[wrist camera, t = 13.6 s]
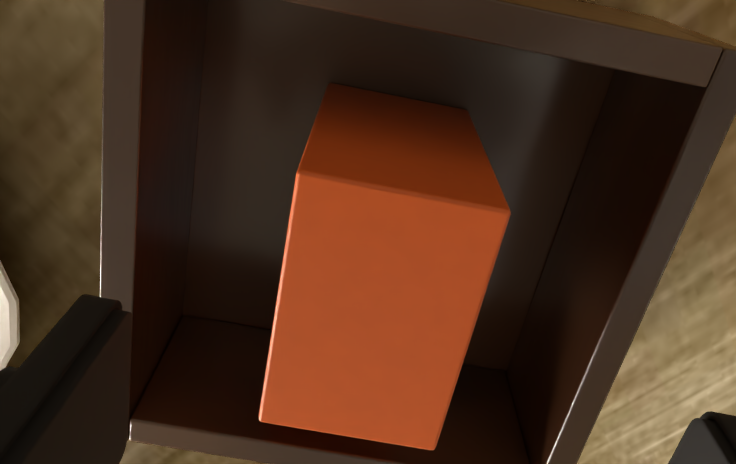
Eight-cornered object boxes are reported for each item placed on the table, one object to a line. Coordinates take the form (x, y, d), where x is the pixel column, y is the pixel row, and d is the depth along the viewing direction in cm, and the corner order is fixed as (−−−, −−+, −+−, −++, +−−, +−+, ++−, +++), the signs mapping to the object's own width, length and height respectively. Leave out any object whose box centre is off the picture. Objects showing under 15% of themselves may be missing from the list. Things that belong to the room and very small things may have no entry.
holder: (654, 16, 17) (764, 56, 12) (518, 381, 23) (556, 511, 18) (189, -83, 17) (103, -84, 12) (163, 319, 22) (97, 436, 17)
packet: (468, 109, 18) (512, 211, 12) (420, 290, 21) (435, 452, 14) (328, 81, 18) (296, 169, 12) (296, 268, 20) (256, 423, 14)
